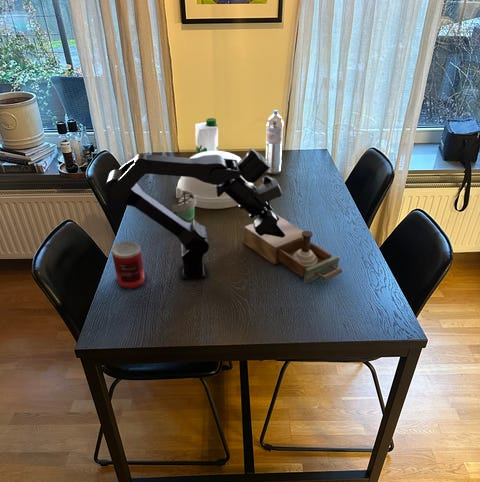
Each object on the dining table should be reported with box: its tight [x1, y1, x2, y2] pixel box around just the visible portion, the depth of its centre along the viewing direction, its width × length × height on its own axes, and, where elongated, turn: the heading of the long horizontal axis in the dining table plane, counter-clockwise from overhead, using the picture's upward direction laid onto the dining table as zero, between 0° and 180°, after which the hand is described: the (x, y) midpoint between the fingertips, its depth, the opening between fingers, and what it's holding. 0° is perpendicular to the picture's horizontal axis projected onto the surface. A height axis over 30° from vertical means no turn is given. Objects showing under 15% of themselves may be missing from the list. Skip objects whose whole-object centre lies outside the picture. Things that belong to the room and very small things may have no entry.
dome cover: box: [175, 150, 254, 210], centre depth 174 cm, size 32×30×14 cm
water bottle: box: [264, 109, 285, 176], centre depth 186 cm, size 7×7×25 cm
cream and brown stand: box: [292, 230, 318, 268], centre depth 133 cm, size 8×8×9 cm
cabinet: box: [243, 214, 304, 265], centre depth 144 cm, size 16×14×6 cm
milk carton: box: [194, 117, 219, 154], centre depth 190 cm, size 9×9×20 cm
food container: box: [171, 191, 196, 223], centre depth 153 cm, size 12×6×10 cm, turn 168°
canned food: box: [111, 241, 146, 289], centre depth 127 cm, size 8×8×11 cm
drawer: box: [277, 239, 343, 284], centre depth 134 cm, size 19×12×4 cm, turn 36°
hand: (281, 228), depth 128 cm, fingers open, 9 cm apart
